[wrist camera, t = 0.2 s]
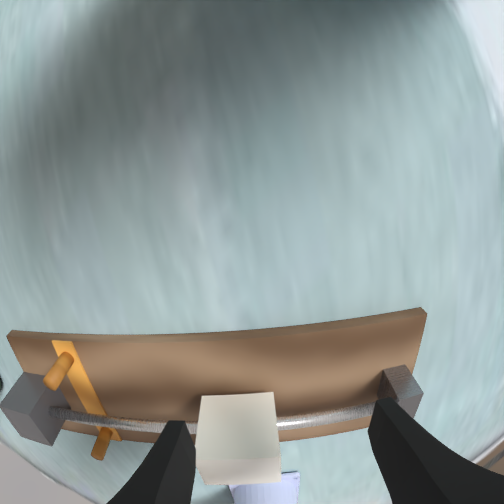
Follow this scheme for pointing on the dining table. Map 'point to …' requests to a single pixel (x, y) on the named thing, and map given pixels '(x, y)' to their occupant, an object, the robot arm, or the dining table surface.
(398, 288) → the dining table surface
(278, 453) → the sleeve
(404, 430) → the robot arm
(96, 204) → the dining table surface
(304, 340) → the walnut board
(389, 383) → the metal rod
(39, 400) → the connector
